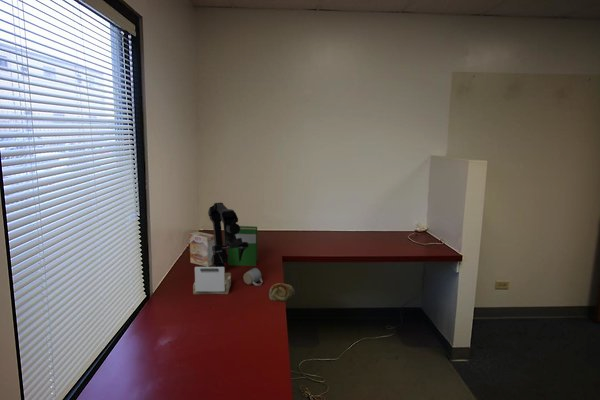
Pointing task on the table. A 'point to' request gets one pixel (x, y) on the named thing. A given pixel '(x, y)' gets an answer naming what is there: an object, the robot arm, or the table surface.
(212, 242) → the coffeecake box
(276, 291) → the pastry
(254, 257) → the hardback book
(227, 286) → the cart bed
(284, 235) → the table surface
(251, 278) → the ceramic mug
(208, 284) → the panel
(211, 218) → the robot arm
